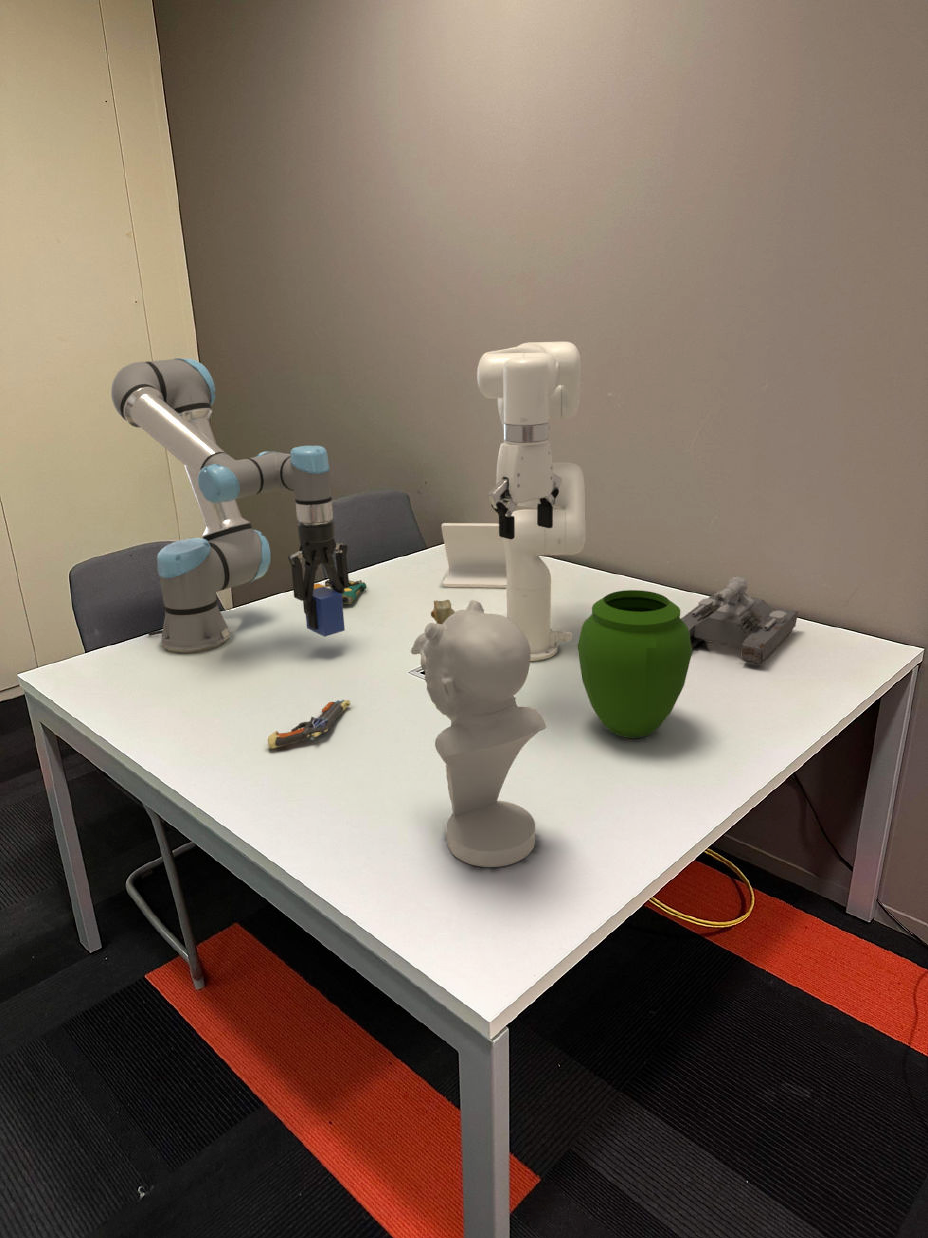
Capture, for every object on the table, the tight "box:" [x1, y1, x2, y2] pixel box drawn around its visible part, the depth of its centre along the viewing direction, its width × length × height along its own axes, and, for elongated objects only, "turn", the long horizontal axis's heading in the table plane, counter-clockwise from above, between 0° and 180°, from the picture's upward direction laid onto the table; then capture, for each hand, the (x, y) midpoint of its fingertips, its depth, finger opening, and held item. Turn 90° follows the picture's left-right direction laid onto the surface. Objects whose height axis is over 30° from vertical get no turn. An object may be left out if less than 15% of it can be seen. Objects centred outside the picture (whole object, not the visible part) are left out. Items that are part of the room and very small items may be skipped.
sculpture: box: [430, 599, 456, 624], centre depth 177 cm, size 6×7×15 cm
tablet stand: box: [441, 522, 507, 589], centre depth 235 cm, size 18×25×17 cm
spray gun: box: [314, 579, 367, 605], centre depth 226 cm, size 4×17×15 cm
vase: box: [576, 589, 693, 739], centre depth 149 cm, size 20×20×24 cm
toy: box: [680, 576, 799, 666], centre depth 187 cm, size 25×20×15 cm
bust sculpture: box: [410, 599, 547, 868], centre depth 121 cm, size 16×24×35 cm
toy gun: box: [267, 699, 351, 749], centre depth 157 cm, size 3×19×10 cm
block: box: [305, 587, 345, 638], centre depth 187 cm, size 5×7×9 cm
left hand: (325, 623), depth 188 cm, fingers closed on block, 5 cm apart
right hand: (526, 532), depth 150 cm, fingers open, 9 cm apart
